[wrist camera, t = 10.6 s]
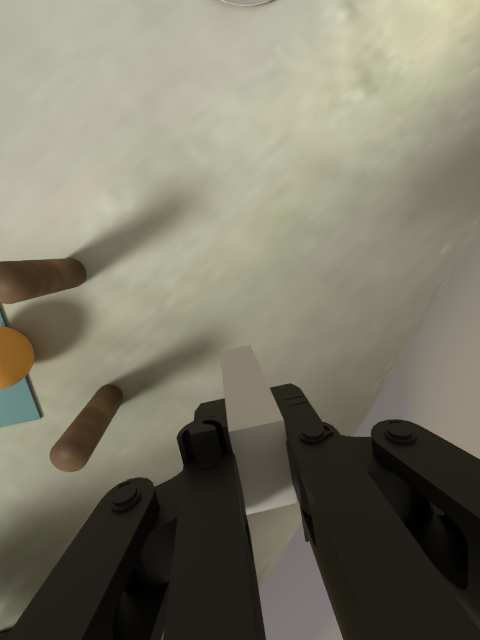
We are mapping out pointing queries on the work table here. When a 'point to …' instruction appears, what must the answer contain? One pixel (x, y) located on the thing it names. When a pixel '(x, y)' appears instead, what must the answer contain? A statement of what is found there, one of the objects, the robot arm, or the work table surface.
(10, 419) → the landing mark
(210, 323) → the work table surface
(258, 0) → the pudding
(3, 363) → the ball
